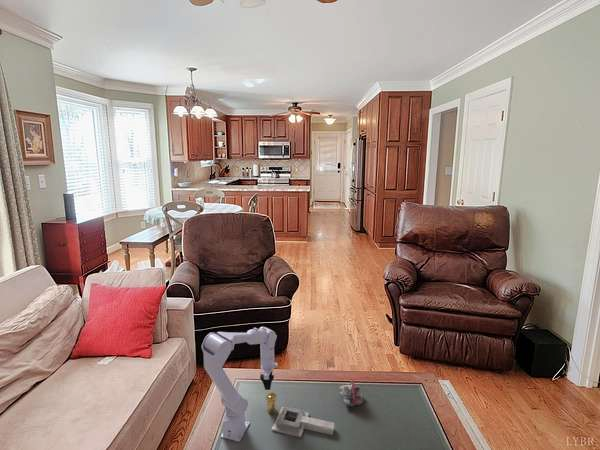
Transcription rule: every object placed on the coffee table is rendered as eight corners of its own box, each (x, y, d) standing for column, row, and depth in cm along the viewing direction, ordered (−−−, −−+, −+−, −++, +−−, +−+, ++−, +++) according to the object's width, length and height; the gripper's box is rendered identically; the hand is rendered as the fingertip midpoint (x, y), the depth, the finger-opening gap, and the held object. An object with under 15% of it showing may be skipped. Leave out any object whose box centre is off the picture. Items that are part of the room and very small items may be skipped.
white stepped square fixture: (330, 444, 131) (330, 437, 131) (271, 430, 138) (271, 424, 137) (336, 420, 143) (336, 414, 142) (282, 408, 149) (281, 402, 148)
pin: (274, 415, 146) (274, 401, 144) (264, 413, 147) (264, 398, 145) (278, 407, 150) (277, 393, 148) (268, 405, 151) (268, 391, 149)
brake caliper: (370, 405, 147) (353, 385, 145) (349, 418, 149) (332, 399, 147) (366, 386, 158) (350, 368, 156) (346, 399, 160) (330, 381, 158)
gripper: (275, 365, 140) (276, 394, 143) (277, 345, 154) (278, 372, 157) (258, 366, 140) (259, 395, 143) (261, 345, 154) (262, 372, 157)
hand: (268, 383), depth 150 cm, fingers open, 7 cm apart
